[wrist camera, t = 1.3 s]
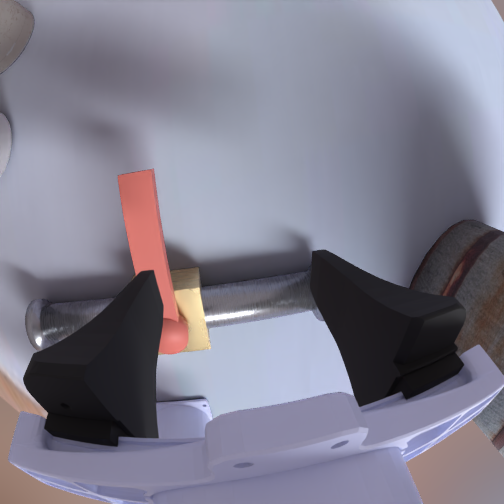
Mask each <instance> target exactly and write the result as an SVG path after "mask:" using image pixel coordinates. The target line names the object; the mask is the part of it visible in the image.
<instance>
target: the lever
mask: <svg viewBox="0 0 504 504" xmlns="http://www.w3.org/2000/svg"><path fill="white" fill-rule="evenodd" d="M118 183H119V190H120V197H121V204H122V210H123V216H124V221H125V227H126V232H127V237H128V242H129V247H130V251H131V256H132V260H133V265H134V269H135V273H136V275H137V274H138V273H139V272H141V271H146V270H154V273H155V277H156V280H157V284H158V287H159V291H160V295H161V298H162V301H163V305H164V312H163V327H162V334H161V340H160V346H159V352H160V353H163V354H176V353H179V352H181V351H182V350H184V349H185V348H186V346H187V344H188V324H187V321H186V320H185V319H184V318H183V317H182V316H181V315H180V314H179V312H178V308H177V303H176V299H175V294H174V289H173V285H172V280H171V275H170V270H169V265H168V260H167V254H166V249H165V243H164V237H163V231H162V225H161V219H160V212H159V205H158V198H157V190H156V182H155V174H154V169H150V170H144V171H138V172H132V173H127V174H122V175H118Z"/></svg>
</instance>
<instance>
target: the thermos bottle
mask: <svg viewBox="0 0 504 504" xmlns="http://www.w3.org/2000/svg"><path fill="white" fill-rule="evenodd" d="M33 27H34V18H33V15H32V14H31V13H30V12H29V11H28V10H27V9H25V8H24V7H23V6H21V5H20V4H18V3H17V2H16V1H14V0H0V73H2V72H4V71H5V70H6V69H7V68H9V67H10V66H11V65H12V64H13V63H14V62H15V60H16V59H17V58H18V57H19V55H20V54H21V53H22V51H23V50H24V48H25V46H26V45H27V43H28V41H29V39H30V37H31V34H32V31H33Z"/></svg>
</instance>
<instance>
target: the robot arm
mask: <svg viewBox="0 0 504 504" xmlns="http://www.w3.org/2000/svg"><path fill="white" fill-rule="evenodd" d="M310 290H311V293H312V295H313V298H314V301H315V303H316V306H317V308H318V309H319V311H320V313H321V315H322V317H323V319H324V321H325V322H326V324H327V326H328V328H329V330H330V332H331V334H332V335H333V337H334V339H335V341H336V343H337V346H338V348H339V350H340V353H341V356H342V358H343V361H344V364H345V367H346V370H347V373H348V376H349V379H350V382H351V386H352V389H353V393H354V396H355V397H354V396H353V395H350V394H347V393H343V392H337V393H330V394H323V395H319V396H315V397H311V398H307V399H302V400H298V401H293V402H288V403H283V404H277V405H272V406H266V407H259V408H253V409H246V410H238V411H234V412H230V413H226V414H221V415H219V416H217V417H216V418H214V419H213V417H212V414H211V410H210V407H209V404H208V401H207V400H206V399H196V400H186V401H174V402H159V403H156V366H157V358H158V352H159V346H160V340H161V334H162V327H163V312H164V305H163V301H162V298H161V295H160V291H159V287H158V284H157V280H156V277H155V273H154V270H146V271H141V272H139V273H138V274H137V275H136V276H135V278H134V279H133V280H132V281H131V282H130V283H129V284H128V285H127V286H126V287H125V288H124V289H123V291H122V292H121V293H120V294H119V295H118V296H117V297H116V298H115V299H114V300H113V301H112V302H111V303H110V304H109V305H108V306H107V307H106V308H105V309H104V310H103V311H102V312H100V313H99V314H98V315H97V316H96V317H94V318H93V319H92V320H91V321H90V322H88V323H87V324H86V325H84V326H83V327H81V328H80V329H78V330H77V331H76V332H74V333H73V334H71V335H70V336H68V337H66V338H65V339H63V340H61V341H59V342H57V343H56V344H54V345H52V346H50V347H47V348H45V349H43V350H41V351H39V352H36V353H34V354H33V356H32V358H31V361H30V363H29V365H28V367H27V370H26V372H25V375H24V377H23V381H24V384H25V386H26V389H27V390H28V391H29V393H30V394H31V395H32V396H33V397H34V399H35V400H36V401H37V402H38V403H39V404H40V405H41V406H42V407H43V408H44V409H45V410H46V411H47V412H48V415H47V419H45V418H44V417H42V416H39V415H36V414H32V413H28V412H24V411H21V412H20V415H19V418H18V422H17V425H16V429H15V432H14V436H13V440H12V444H11V448H10V453H9V457H8V460H9V462H10V463H12V464H13V465H15V466H16V467H18V468H19V469H21V470H22V471H24V472H26V473H27V474H29V475H31V476H33V477H34V478H36V479H37V480H39V481H41V482H43V483H45V484H47V485H49V486H52V487H55V488H58V489H61V490H64V491H68V492H71V493H74V494H77V495H81V496H84V497H88V498H91V499H95V500H99V501H103V502H108V503H112V504H423V502H422V499H421V497H420V495H419V492H418V490H417V488H416V485H415V483H414V481H413V479H412V476H411V474H410V472H409V470H408V467H407V465H406V463H405V462H407V461H408V460H410V459H412V458H414V457H416V456H417V455H419V454H421V453H422V452H424V451H426V450H427V449H429V448H431V447H432V446H434V445H435V444H437V443H438V442H440V441H441V440H443V439H444V438H446V437H448V436H449V435H451V434H452V433H453V432H455V431H456V430H458V429H459V428H460V427H462V426H463V425H465V424H466V423H468V422H469V421H470V420H472V419H473V418H474V417H476V416H477V415H478V414H479V413H480V412H481V411H482V410H483V409H484V408H485V407H486V406H487V405H488V404H489V403H490V402H491V401H492V400H493V398H494V397H495V396H496V395H497V394H498V393H499V392H500V390H501V389H502V388H503V387H504V375H503V374H502V373H501V371H500V370H499V369H498V367H497V366H496V365H495V363H494V362H493V361H492V360H491V358H490V357H489V356H488V355H487V353H486V352H485V351H484V350H483V348H482V347H481V346H480V345H476V346H474V347H473V348H471V349H469V350H467V351H466V352H464V353H463V354H462V355H461V356H460V357H459V356H458V355H457V354H456V353H455V352H457V350H458V347H457V346H456V345H455V343H454V342H455V340H456V338H457V336H458V335H459V333H460V331H461V329H462V327H463V325H464V322H465V319H466V309H465V308H464V307H463V305H462V304H461V303H460V302H459V301H458V300H457V299H456V298H455V297H450V296H442V295H434V294H429V293H424V292H419V291H415V290H412V289H408V288H405V287H402V286H399V285H396V284H393V283H390V282H388V281H385V280H383V279H380V278H378V277H376V276H374V275H372V274H370V273H368V272H366V271H364V270H362V269H360V268H358V267H356V266H354V265H352V264H351V263H349V262H347V261H345V260H344V259H342V258H340V257H338V256H337V255H335V254H333V253H331V252H329V251H327V250H317V251H312V264H311V277H310ZM204 404H205V405H204Z"/></svg>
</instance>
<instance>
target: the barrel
mask: <svg viewBox="0 0 504 504" xmlns="http://www.w3.org/2000/svg"><path fill="white" fill-rule="evenodd" d="M409 289H412V290H415V291H419V292H424V293H429V294H434V295H442V296H450V297H455V298H456V299H457V300H458V301H459V302H460V303H461V304H462V305H463V307H464V308H465V309H466V319H465V322H464V325H463V327H462V329H461V331H460V333H459V335H458V336H457V338H456V340H455V342H454V343H455V345H456V346H457V347H458V350H457V352H455V353H456V354H457V355H458V356H459V357H460V356H461V355H462V354H463V353H464V352H466V351H467V350H469V349H471V348H473V347H474V346H476V345H480V346H481V347H482V348H483V350H484V351H485V352H486V353H487V355H488V356H489V357H490V358H491V360H492V361H493V362H494V363H495V365H496V366H497V367H498V369H499V370H500V371H501V373H502V374H503V375H504V232H502V231H500V230H498V229H495V228H493V227H490V226H488V225H485V224H483V223H480V222H478V221H475V220H463V221H461V222H459V223H457V224H455V225H453V226H451V227H450V228H449V229H448V230H447V231H446V232H445V233H444V234H443V235H441V236H440V237H439V238H438V240H437V241H436V242H435V244H434V245H433V246H432V248H431V249H430V250H429V252H428V253H427V254H426V256H425V257H424V259H423V261H422V263H421V265H420V267H419V268H418V270H417V272H416V274H415V275H414V278H413V280H412V283H411V285H410V288H409ZM472 420H473V421H474V422H475V423H476V424H477V426H478V427H479V428H480V429H481V430H482V431H483V433H484V434H485V435H486V436H487V437H488V439H489V440H490V441H491V442H492V443H493V444H494V446H495V447H496V448H497V449H498V451H499V452H500V453H501V454H502V456H503V457H504V387H503V388H502V389H501V390H500V392H499V393H498V394H497V395H496V396H495V397H494V398H493V400H492V401H491V402H490V403H489V404H488V405H487V406H486V407H485V408H484V409H483V410H482V411H481V412H480V413H479V414H478V415H477V416H476V417H474V418H473V419H472Z"/></svg>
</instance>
